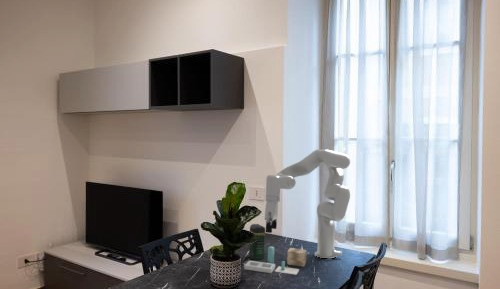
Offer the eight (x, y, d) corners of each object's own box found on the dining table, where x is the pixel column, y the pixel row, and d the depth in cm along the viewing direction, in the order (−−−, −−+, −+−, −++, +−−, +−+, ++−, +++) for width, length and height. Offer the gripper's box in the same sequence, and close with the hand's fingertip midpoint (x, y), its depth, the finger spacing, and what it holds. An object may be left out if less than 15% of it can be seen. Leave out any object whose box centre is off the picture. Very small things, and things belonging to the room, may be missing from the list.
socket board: (275, 268, 179) (275, 264, 179) (271, 274, 172) (271, 269, 172) (249, 265, 184) (249, 260, 184) (244, 270, 176) (244, 265, 176)
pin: (274, 263, 187) (275, 246, 187) (272, 265, 184) (273, 248, 184) (268, 262, 188) (268, 246, 188) (266, 264, 185) (267, 247, 185)
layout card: (299, 270, 178) (299, 261, 178) (296, 275, 171) (296, 266, 171) (278, 267, 182) (278, 258, 182) (274, 272, 174) (275, 263, 174)
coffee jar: (266, 260, 193) (267, 226, 193) (253, 261, 190) (254, 227, 190) (259, 254, 202) (260, 222, 202) (247, 255, 199) (248, 223, 199)
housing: (305, 263, 188) (306, 249, 188) (304, 267, 182) (304, 253, 182) (289, 261, 191) (290, 247, 191) (287, 265, 185) (287, 251, 185)
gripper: (270, 195, 195) (268, 226, 195) (261, 199, 179) (259, 233, 179) (283, 197, 193) (281, 227, 193) (275, 201, 177) (273, 235, 176)
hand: (271, 230), depth 186 cm, fingers open, 9 cm apart
